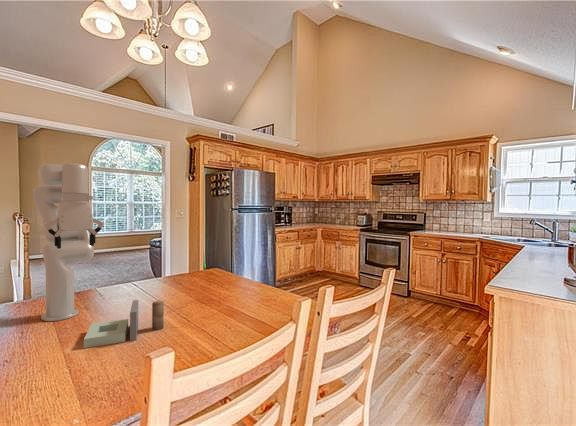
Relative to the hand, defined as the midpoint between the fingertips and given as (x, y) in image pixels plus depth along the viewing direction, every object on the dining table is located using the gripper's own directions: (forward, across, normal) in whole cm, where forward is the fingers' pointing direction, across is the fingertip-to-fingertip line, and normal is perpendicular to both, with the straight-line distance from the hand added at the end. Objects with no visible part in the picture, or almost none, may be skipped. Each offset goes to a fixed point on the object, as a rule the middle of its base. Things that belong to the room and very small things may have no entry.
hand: (75, 246), depth 105 cm
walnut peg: (+33, -24, +12) cm, 42 cm away
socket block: (+32, -8, +7) cm, 34 cm away
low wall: (+32, -16, +10) cm, 38 cm away
